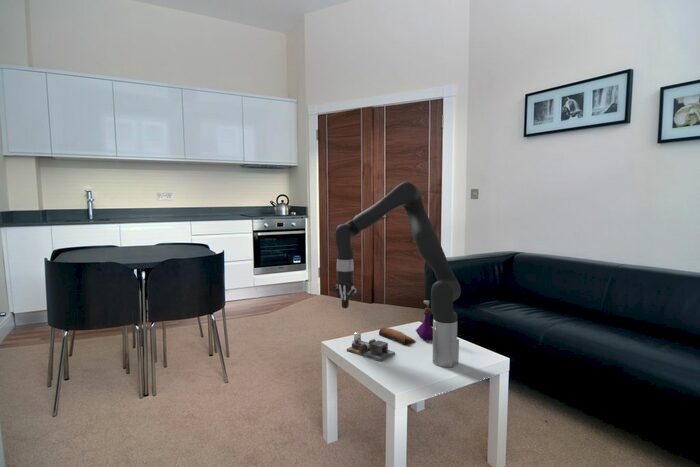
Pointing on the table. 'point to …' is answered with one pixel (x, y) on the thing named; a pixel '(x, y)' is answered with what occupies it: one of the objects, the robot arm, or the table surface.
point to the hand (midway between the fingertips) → (345, 307)
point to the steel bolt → (359, 340)
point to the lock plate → (372, 350)
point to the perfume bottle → (425, 325)
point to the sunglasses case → (396, 335)
